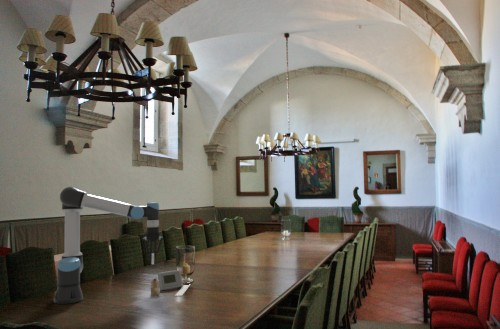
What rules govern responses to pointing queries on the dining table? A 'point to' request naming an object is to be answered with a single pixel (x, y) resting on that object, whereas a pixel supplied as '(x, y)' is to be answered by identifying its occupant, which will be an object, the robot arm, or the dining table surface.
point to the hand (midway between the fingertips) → (152, 264)
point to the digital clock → (170, 280)
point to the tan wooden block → (154, 287)
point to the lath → (182, 290)
